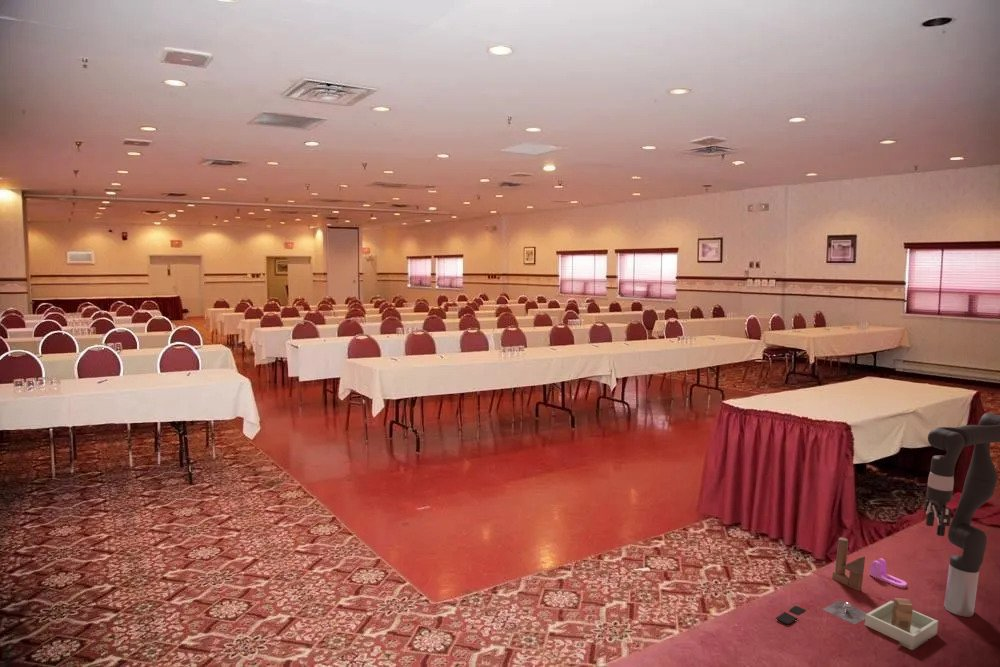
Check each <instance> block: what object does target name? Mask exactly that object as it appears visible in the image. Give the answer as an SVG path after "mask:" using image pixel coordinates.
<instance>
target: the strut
mask: <svg viewBox="0 0 1000 667" xmlns="http://www.w3.org/2000/svg"><path fill="white" fill-rule="evenodd" d="M893 602H894V605H893V613H892V622H891V624H892V625H893V626H896V627H898V628H900V629H902V630H904V631H906V632H910V626H911V618H912V610H914V609H913V607H914V605H913V603H911V601H910V600H909V599H908V598H899V597H894V599H893Z"/></svg>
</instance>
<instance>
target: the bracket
mask: <svg viewBox="0 0 1000 667" xmlns="http://www.w3.org/2000/svg"><path fill="white" fill-rule="evenodd" d="M887 567H888V563H887V561H886V559H884V558H878V559H877V560H873V561H871V562H870V567H869V575H871V576H873V577H872V578H874V577H875V579H876V578H878V579H880V580H879V581H881V580H883V581H885V582H888V583H890V584H893V585H895V586H898V587H906V588H907V586H908V585H907V584H908V583H907V581H905V580H903V579H901V578H898V577H895V576H893V575H890V574H888V573H887V569H888V568H887ZM871 576H870V577H871ZM878 579H877V580H878ZM883 581H882V582H883ZM895 581H896V582H895ZM885 582H884V583H885ZM888 583H887V584H888ZM890 584H889V585H890ZM895 586H894V587H895ZM898 587H897V588H898Z"/></svg>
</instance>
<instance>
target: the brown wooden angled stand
mask: <svg viewBox="0 0 1000 667" xmlns="http://www.w3.org/2000/svg"><path fill="white" fill-rule="evenodd" d="M836 549H837V550H836V551H837V552H836V560H835V570H834V571H832V577H831V579H832V580H833V581H836V582H837V583H840V584H842V585H844V586H847V587H849V588H851V589H853V590H855V591H858V592H860V591H862V588H863V580H864V579H863V578H864V572H865V563H866V562H865V561H866V556H862V557H859V558H856V559H855V560H852V561H851V562H849V563H847V559H848V550H849V539H848V538H847V537H846V538H845V537H841V536H840V537H839V538H838V541H837V548H836ZM846 571H849V574H848V573H846Z"/></svg>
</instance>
